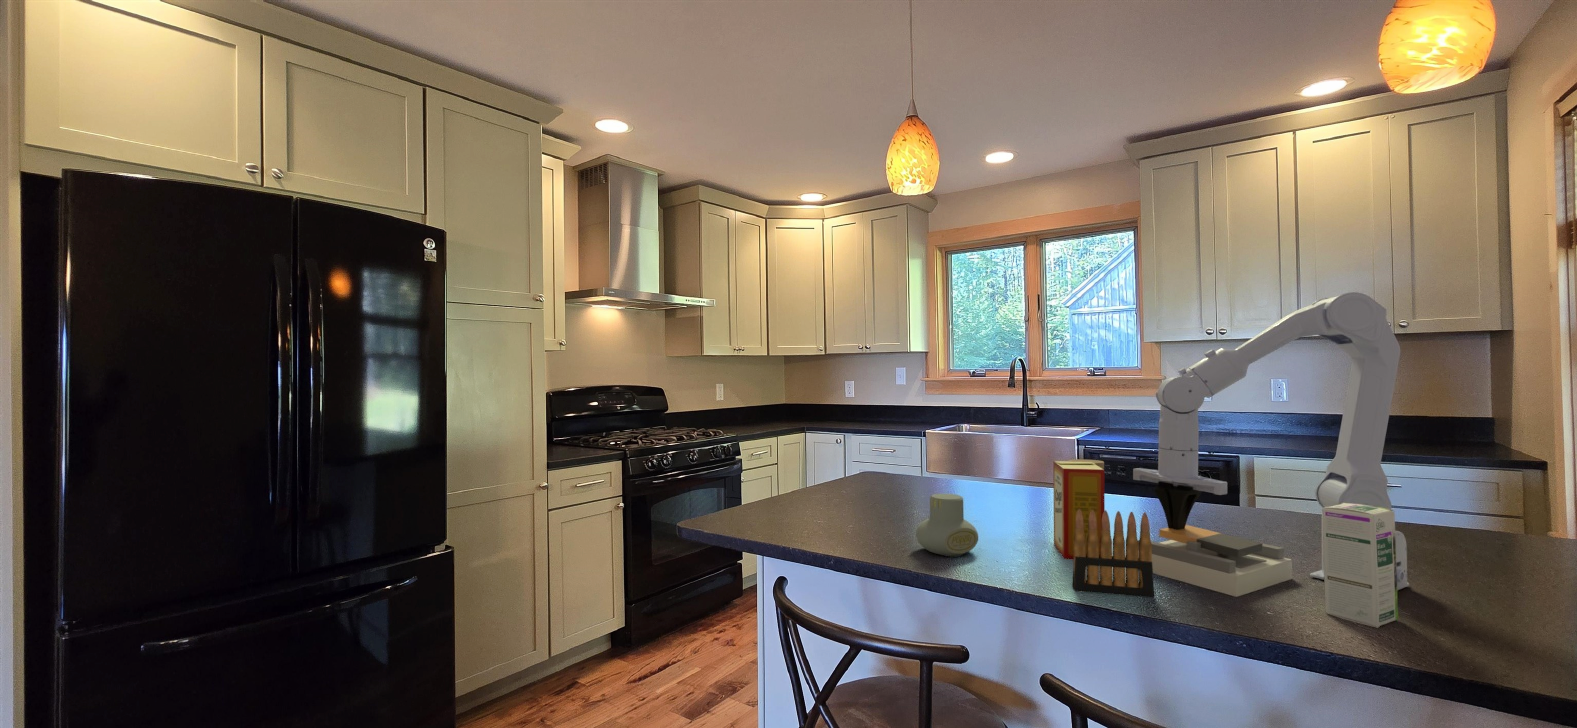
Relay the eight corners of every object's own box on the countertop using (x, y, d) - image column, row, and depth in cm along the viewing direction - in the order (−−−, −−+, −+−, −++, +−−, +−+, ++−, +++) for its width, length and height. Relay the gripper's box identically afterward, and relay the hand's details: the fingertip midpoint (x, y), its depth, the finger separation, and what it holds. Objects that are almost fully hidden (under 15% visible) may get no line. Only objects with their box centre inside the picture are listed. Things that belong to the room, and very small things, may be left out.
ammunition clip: (1151, 593, 95) (1150, 511, 95) (1154, 597, 93) (1153, 513, 93) (1072, 586, 98) (1071, 507, 98) (1074, 590, 96) (1073, 509, 96)
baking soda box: (1104, 561, 110) (1104, 467, 110) (1064, 558, 112) (1063, 466, 112) (1091, 546, 120) (1090, 459, 120) (1053, 544, 121) (1053, 458, 121)
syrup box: (1378, 628, 81) (1377, 513, 81) (1322, 613, 87) (1321, 505, 87) (1399, 620, 84) (1397, 508, 84) (1343, 605, 89) (1342, 500, 89)
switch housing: (1292, 578, 101) (1291, 543, 101) (1236, 596, 93) (1236, 558, 93) (1186, 553, 115) (1186, 522, 115) (1131, 566, 107) (1130, 533, 107)
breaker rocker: (1262, 550, 100) (1262, 543, 100) (1237, 557, 97) (1238, 549, 97) (1183, 531, 111) (1183, 524, 111) (1159, 536, 107) (1159, 529, 107)
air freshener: (956, 542, 122) (956, 489, 123) (986, 554, 115) (986, 497, 115) (908, 549, 118) (907, 494, 118) (935, 561, 111) (935, 503, 111)
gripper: (1122, 444, 113) (1121, 522, 113) (1210, 456, 100) (1208, 543, 100) (1147, 442, 116) (1146, 518, 116) (1235, 453, 103) (1233, 538, 103)
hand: (1176, 529), depth 108 cm, fingers closed, pressing on breaker rocker
